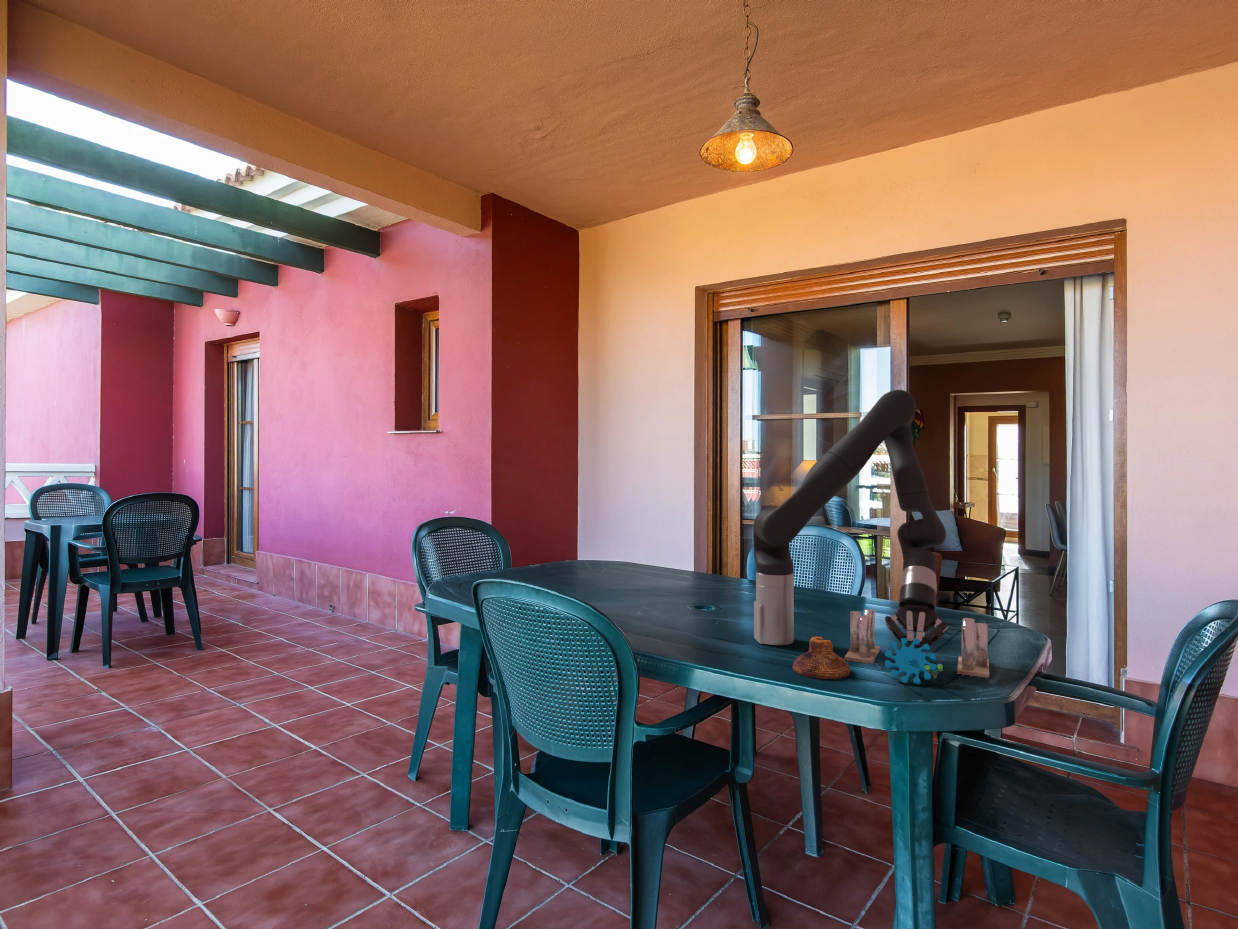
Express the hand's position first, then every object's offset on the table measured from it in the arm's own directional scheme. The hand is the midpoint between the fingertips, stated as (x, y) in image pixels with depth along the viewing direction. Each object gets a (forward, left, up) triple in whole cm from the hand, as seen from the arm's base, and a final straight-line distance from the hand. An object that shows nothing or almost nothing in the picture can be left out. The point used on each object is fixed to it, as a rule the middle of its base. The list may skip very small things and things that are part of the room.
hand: (913, 660), depth 144 cm
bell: (-18, +6, -4) cm, 19 cm away
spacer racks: (+6, +12, -4) cm, 14 cm away
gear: (-1, -1, -4) cm, 4 cm away
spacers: (+6, +12, -3) cm, 14 cm away
